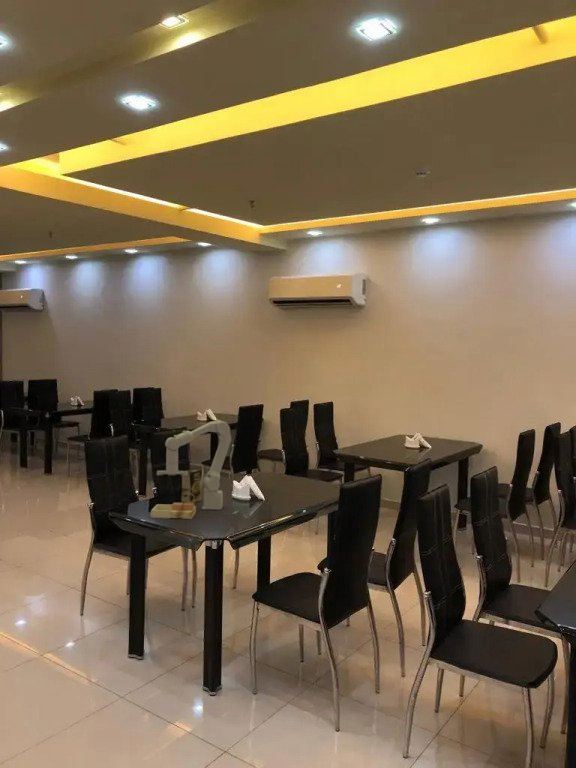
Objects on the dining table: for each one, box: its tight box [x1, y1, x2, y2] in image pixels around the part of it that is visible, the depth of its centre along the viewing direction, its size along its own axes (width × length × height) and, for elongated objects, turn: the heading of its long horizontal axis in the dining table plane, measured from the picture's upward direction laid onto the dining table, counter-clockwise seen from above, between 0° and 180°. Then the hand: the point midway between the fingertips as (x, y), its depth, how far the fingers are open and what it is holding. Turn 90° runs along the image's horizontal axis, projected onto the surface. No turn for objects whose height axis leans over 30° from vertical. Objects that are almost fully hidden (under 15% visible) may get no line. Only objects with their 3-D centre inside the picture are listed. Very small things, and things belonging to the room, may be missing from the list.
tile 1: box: [171, 502, 185, 510], centre depth 295 cm, size 4×4×2 cm
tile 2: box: [183, 502, 195, 510], centre depth 295 cm, size 4×4×2 cm
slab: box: [169, 505, 197, 520], centre depth 295 cm, size 10×13×3 cm
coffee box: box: [181, 468, 203, 503], centre depth 324 cm, size 9×6×16 cm
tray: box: [150, 503, 172, 519], centre depth 295 cm, size 9×13×4 cm
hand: (171, 489), depth 302 cm, fingers open, 3 cm apart
